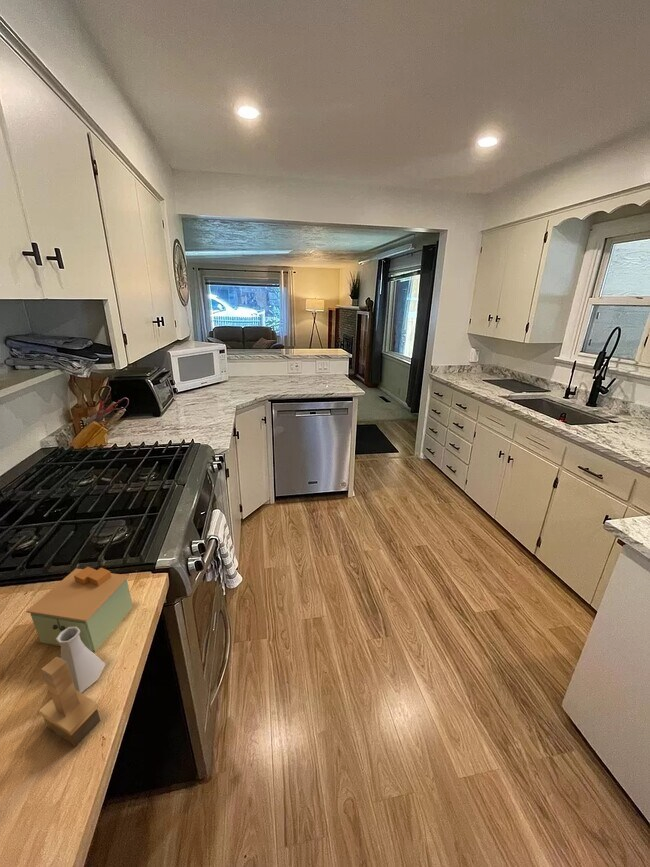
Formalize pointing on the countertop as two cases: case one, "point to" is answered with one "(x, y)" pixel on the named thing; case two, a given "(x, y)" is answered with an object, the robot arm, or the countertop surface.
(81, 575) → the crust
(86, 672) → the flask
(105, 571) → the block
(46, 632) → the cabinet
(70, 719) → the brush
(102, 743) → the countertop surface
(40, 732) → the countertop surface
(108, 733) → the countertop surface
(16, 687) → the countertop surface
